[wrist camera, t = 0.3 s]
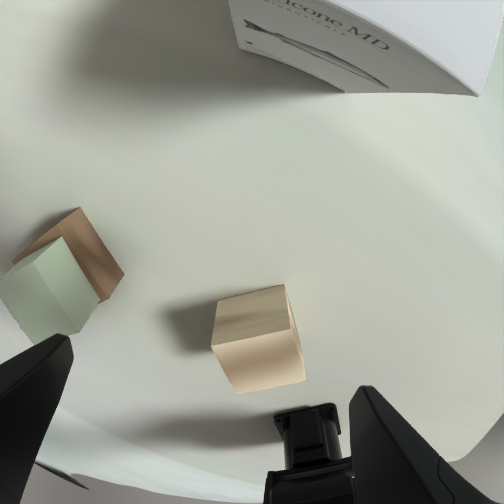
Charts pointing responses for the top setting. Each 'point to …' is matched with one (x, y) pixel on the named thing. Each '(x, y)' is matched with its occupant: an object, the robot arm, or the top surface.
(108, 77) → the top surface
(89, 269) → the walnut base block
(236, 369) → the maple cube
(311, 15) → the supplement box
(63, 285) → the sage block
